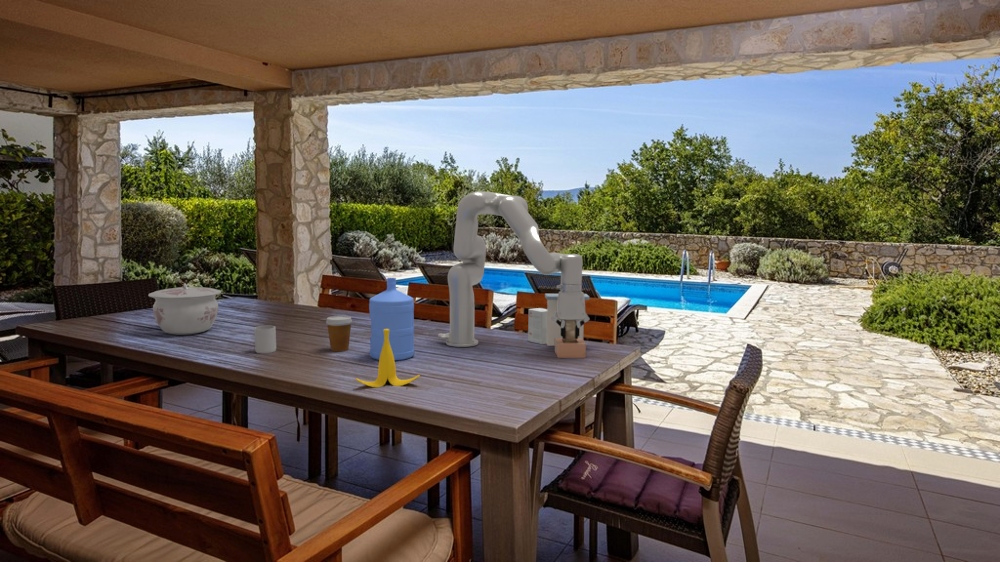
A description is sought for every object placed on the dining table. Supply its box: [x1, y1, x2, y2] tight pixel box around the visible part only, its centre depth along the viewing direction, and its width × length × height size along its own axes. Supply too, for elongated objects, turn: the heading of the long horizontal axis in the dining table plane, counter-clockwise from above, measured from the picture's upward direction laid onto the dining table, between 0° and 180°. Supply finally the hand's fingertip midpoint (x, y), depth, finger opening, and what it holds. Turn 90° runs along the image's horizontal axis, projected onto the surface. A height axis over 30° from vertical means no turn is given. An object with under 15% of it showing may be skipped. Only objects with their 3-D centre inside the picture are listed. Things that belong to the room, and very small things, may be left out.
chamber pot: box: [148, 282, 222, 336], centre depth 266 cm, size 28×28×21 cm
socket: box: [554, 338, 587, 359], centre depth 231 cm, size 10×10×5 cm
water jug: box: [368, 277, 415, 362], centre depth 225 cm, size 16×16×28 cm
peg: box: [564, 320, 576, 343], centre depth 231 cm, size 4×4×12 cm
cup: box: [254, 325, 277, 355], centre depth 233 cm, size 7×10×9 cm
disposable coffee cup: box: [325, 315, 353, 352], centre depth 235 cm, size 10×10×12 cm
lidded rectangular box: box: [544, 293, 591, 347], centre depth 242 cm, size 16×8×20 cm, turn 91°
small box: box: [527, 307, 547, 345], centre depth 253 cm, size 8×6×13 cm
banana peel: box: [354, 329, 421, 388], centre depth 191 cm, size 16×19×17 cm
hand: (569, 337), depth 231 cm, fingers closed on peg, 3 cm apart
